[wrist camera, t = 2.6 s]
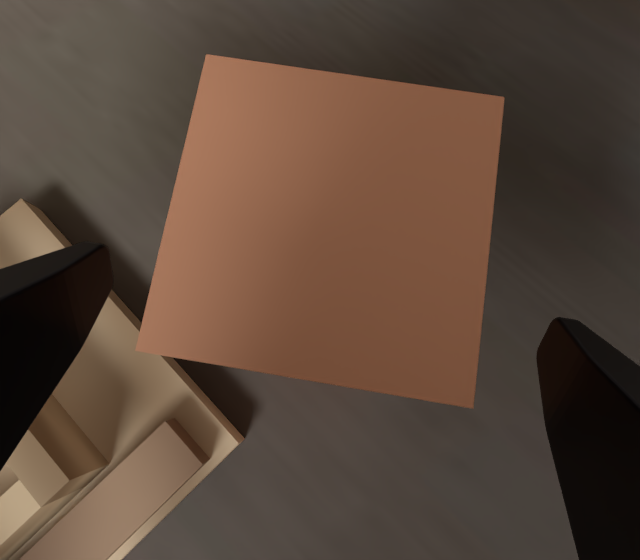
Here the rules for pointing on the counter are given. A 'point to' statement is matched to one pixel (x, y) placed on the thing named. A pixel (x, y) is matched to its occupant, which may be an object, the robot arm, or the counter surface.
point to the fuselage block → (330, 231)
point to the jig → (103, 434)
